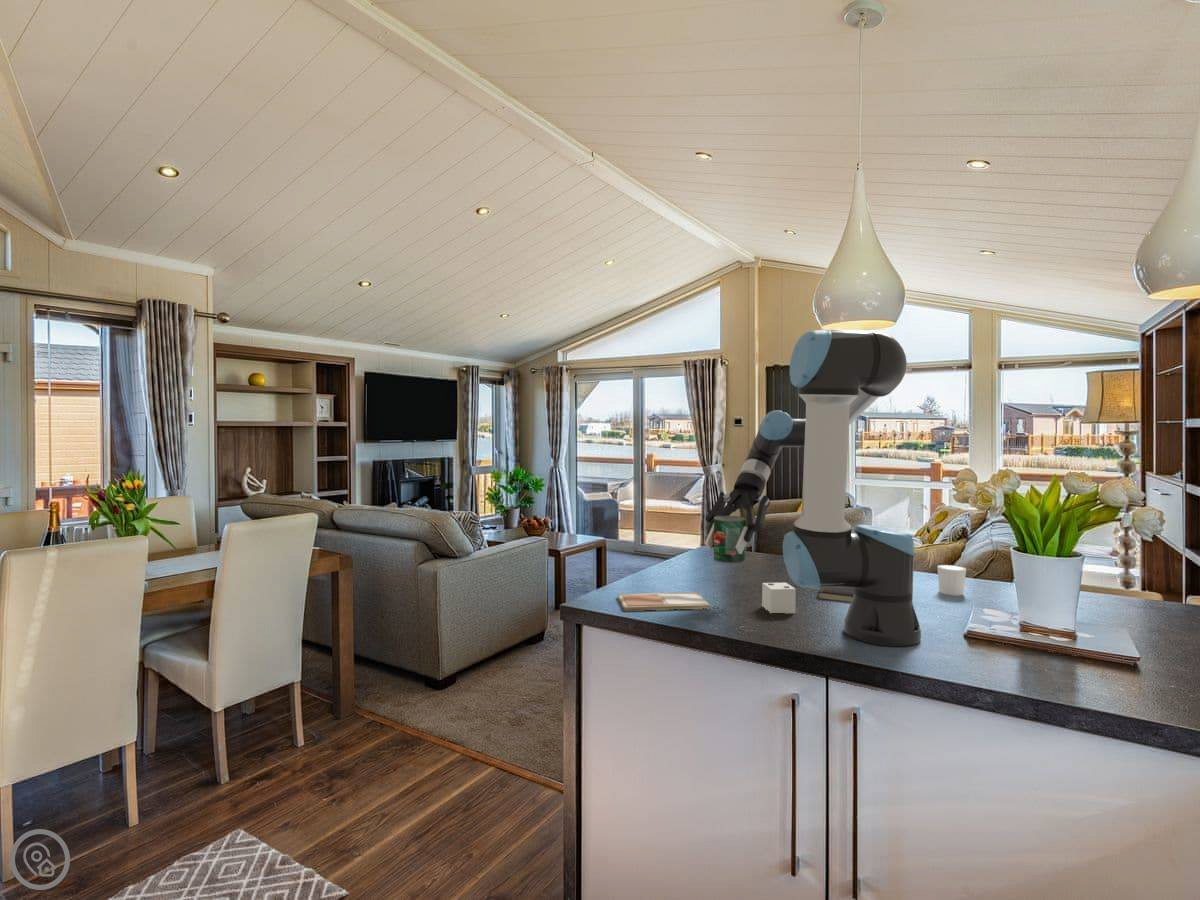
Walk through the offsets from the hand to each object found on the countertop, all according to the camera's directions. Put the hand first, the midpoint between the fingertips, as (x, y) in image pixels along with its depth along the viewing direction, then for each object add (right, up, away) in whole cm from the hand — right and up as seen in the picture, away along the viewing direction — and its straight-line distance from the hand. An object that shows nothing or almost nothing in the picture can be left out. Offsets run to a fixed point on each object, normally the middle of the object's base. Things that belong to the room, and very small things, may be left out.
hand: (723, 548), depth 160 cm
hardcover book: (+38, -15, +14) cm, 43 cm away
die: (+13, -15, -4) cm, 20 cm away
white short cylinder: (+64, -14, +13) cm, 67 cm away
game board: (-15, -14, +1) cm, 20 cm away
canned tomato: (+2, -4, +3) cm, 5 cm away
